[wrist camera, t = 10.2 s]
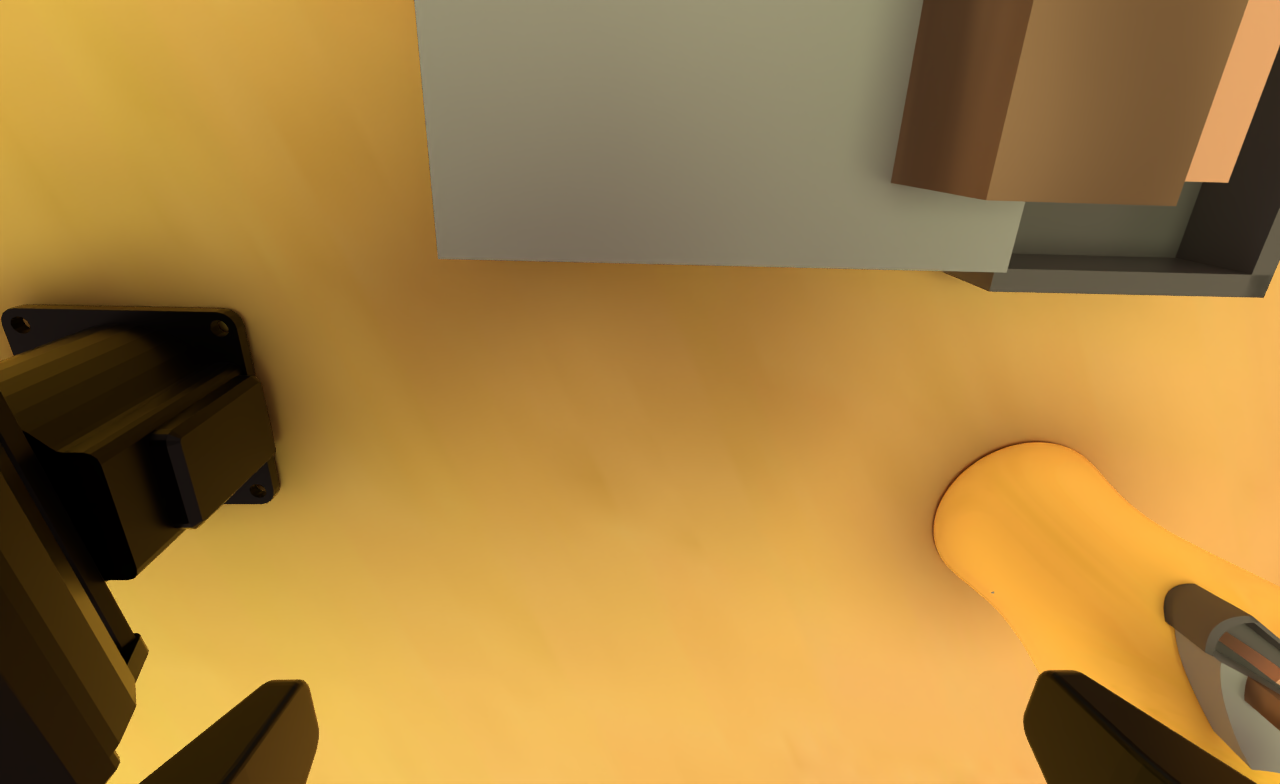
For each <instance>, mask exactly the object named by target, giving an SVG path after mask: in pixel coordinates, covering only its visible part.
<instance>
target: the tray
mask: <svg viewBox="0 0 1280 784" xmlns="http://www.w3.org/2000/svg"><path fill="white" fill-rule="evenodd" d="M1279 261H1280V46H1279V49H1278V51H1277V54H1276V57H1275V59H1274V62H1273V65H1272V67H1271V70H1270V73H1269V75H1268V78H1267V81H1266V83H1265V86H1264V89H1263V91H1262V94H1261V97H1260V99H1259V102H1258V105H1257V107H1256V110H1255V113H1254V115H1253V118H1252V120H1251V123H1250V126H1249V128H1248V131H1247V134H1246V136H1245V139H1244V142H1243V144H1242V147H1241V150H1240V152H1239V155H1238V158H1237V160H1236V163H1235V166H1234V168H1233V171H1232V174H1231V176H1230V179H1229V182H1228V183H1222V182H1188V181H1185V182H1184V185H1183V188H1182V191H1181V193H1180V196H1179V199H1178V202H1177V205H1176V206H1156V205H1123V204H1090V203H1056V202H1025V205H1024V209H1023V212H1022V216H1021V220H1020V224H1019V228H1018V231H1017V235H1016V239H1015V243H1014V247H1013V250H1012V254H1011V258H1010V262H1009V266H1008V270H1007V273H1003V272H961V271H942V272H944V273H947V274H949V275H952V276H954V277H956V278H959V279H961V280H963V281H966V282H968V283H971V284H973V285H975V286H978V287H980V288H982V289H985V290H987V291H992V292H1036V293H1081V294H1126V295H1170V296H1215V297H1259V298H1264V296H1265V293H1266V291H1267V289H1268V286H1269V284H1270V282H1271V279H1272V277H1273V275H1274V272H1275V270H1276V268H1277V265H1278V263H1279Z"/></svg>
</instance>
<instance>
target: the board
mask: <svg viewBox="0 0 1280 784" xmlns="http://www.w3.org/2000/svg"><path fill="white" fill-rule="evenodd" d="M414 2H415V13H416V24H417V35H418V46H419V57H420V68H421V79H422V89H423V100H424V111H425V122H426V133H427V144H428V155H429V165H430V176H431V187H432V198H433V209H434V220H435V231H436V241H437V252H438V259H466V260H507V261H548V262H590V263H631V264H672V265H714V266H755V267H796V268H838V269H879V270H920V271H961V272H1003V273H1007V270H1008V266H1009V262H1010V258H1011V254H1012V250H1013V247H1014V243H1015V239H1016V235H1017V231H1018V228H1019V224H1020V220H1021V216H1022V212H1023V209H1024V205H1025V202H1023V201H990V200H981V199H976V198H970V197H965V196H960V195H954V194H949V193H943V192H938V191H932V190H927V189H921V188H916V187H911V186H905V185H900V184H894V183H891V178H892V173H893V167H894V162H895V156H896V151H897V145H898V139H899V134H900V128H901V123H902V117H903V111H904V106H905V100H906V95H907V89H908V84H909V78H910V72H911V67H912V61H913V56H914V50H915V44H916V39H917V33H918V28H919V22H920V17H921V11H922V5H923V0H414Z"/></svg>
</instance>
